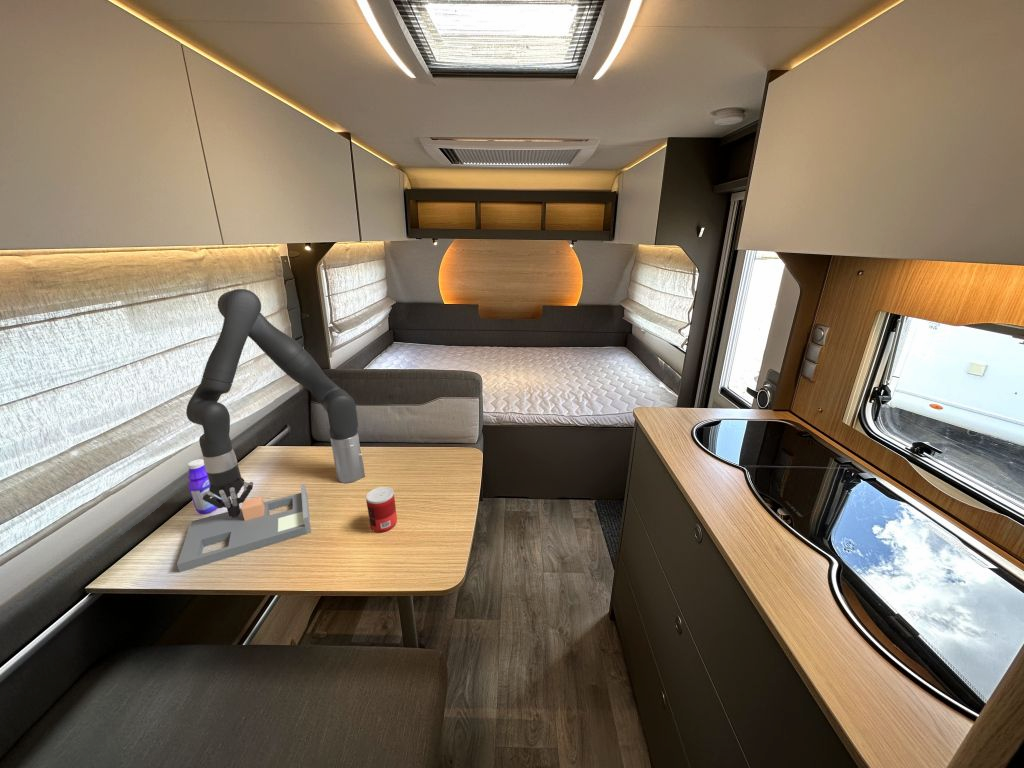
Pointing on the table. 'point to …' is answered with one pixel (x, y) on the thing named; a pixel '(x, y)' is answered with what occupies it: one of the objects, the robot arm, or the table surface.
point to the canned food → (381, 509)
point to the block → (253, 508)
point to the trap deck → (244, 531)
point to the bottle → (199, 486)
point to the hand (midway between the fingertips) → (235, 515)
